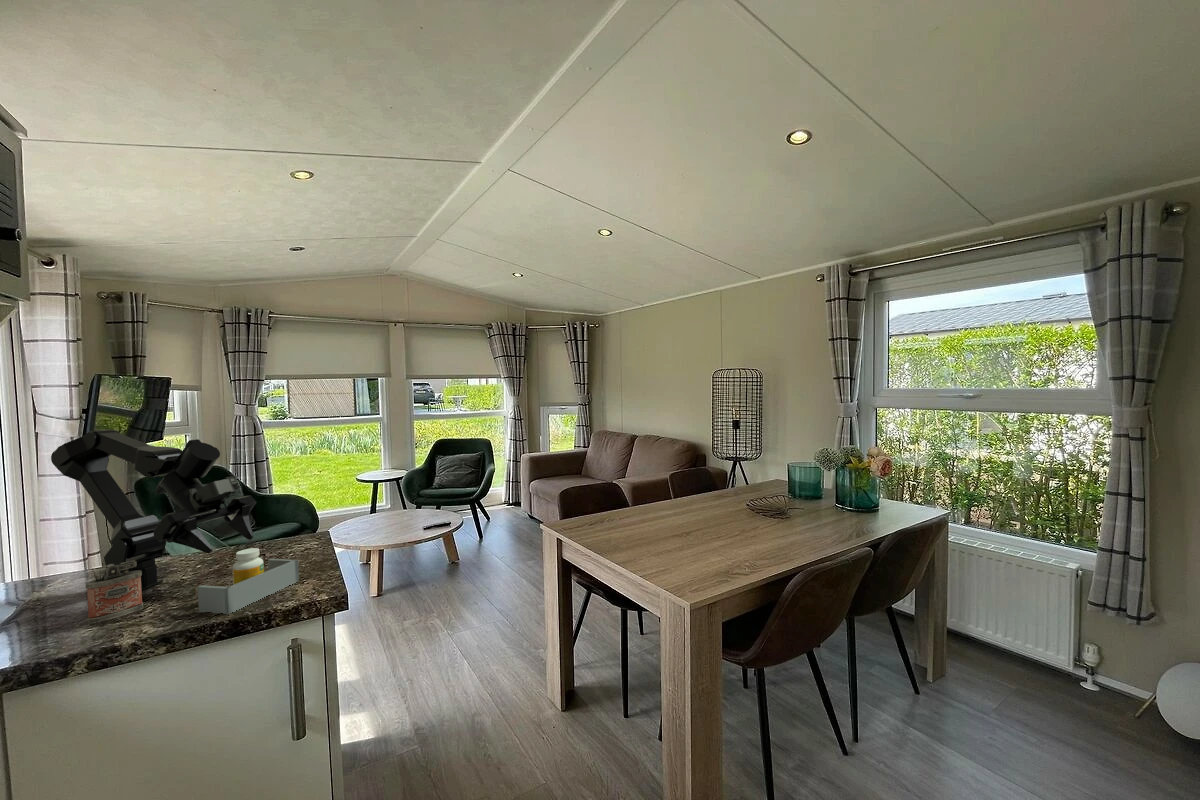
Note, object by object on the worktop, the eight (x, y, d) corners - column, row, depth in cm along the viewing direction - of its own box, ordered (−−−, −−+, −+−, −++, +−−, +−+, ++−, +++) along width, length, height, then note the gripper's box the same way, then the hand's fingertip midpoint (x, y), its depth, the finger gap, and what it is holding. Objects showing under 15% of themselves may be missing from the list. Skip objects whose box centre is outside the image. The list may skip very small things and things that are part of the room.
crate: (198, 611, 97) (197, 586, 97) (272, 580, 114) (271, 558, 114) (229, 614, 96) (227, 588, 96) (298, 581, 112) (297, 559, 112)
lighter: (90, 624, 93) (87, 572, 93) (85, 621, 95) (82, 569, 95) (146, 608, 100) (143, 559, 100) (140, 605, 102) (137, 557, 102)
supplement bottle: (233, 595, 105) (231, 550, 105) (263, 588, 109) (261, 545, 109) (234, 603, 101) (232, 556, 101) (266, 595, 104) (264, 550, 104)
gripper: (161, 474, 98) (208, 530, 95) (247, 460, 116) (289, 508, 113) (132, 513, 99) (178, 570, 97) (222, 494, 118) (263, 541, 115)
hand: (232, 544), depth 106 cm, fingers open, 9 cm apart
